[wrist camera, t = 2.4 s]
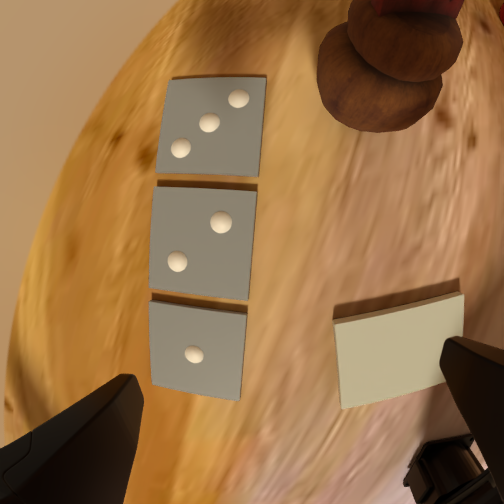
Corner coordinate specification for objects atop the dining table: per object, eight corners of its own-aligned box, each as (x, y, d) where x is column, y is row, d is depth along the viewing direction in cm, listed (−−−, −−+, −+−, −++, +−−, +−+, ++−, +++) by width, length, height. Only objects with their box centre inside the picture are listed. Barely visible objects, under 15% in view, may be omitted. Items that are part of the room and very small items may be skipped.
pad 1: (266, 80, 18) (266, 77, 18) (258, 177, 19) (257, 175, 18) (171, 82, 19) (168, 80, 18) (158, 173, 20) (155, 172, 19)
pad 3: (247, 313, 20) (246, 315, 19) (240, 397, 21) (239, 401, 20) (151, 299, 21) (148, 301, 20) (154, 381, 22) (151, 384, 21)
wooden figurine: (308, 132, 18) (346, -44, 3) (314, 60, 18) (336, -116, 3) (403, 151, 18) (564, 63, 3) (404, 80, 17) (509, -48, 2)
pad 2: (257, 192, 19) (256, 191, 19) (248, 298, 20) (247, 300, 19) (156, 187, 20) (153, 186, 19) (151, 286, 21) (148, 287, 20)
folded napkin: (457, 291, 18) (463, 294, 17) (453, 371, 19) (458, 376, 18) (332, 319, 19) (334, 324, 18) (339, 402, 20) (341, 409, 19)
